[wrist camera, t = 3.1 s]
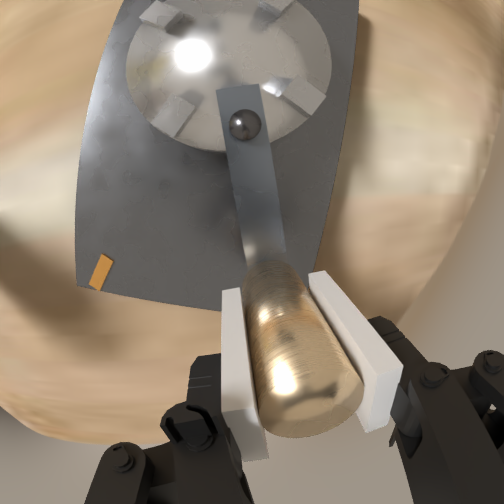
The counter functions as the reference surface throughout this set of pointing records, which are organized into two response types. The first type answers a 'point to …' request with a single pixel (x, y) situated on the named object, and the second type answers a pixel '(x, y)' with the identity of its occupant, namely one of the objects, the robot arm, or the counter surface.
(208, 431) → the robot arm
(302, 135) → the plate
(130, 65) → the lever with amber grip
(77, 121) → the counter surface
